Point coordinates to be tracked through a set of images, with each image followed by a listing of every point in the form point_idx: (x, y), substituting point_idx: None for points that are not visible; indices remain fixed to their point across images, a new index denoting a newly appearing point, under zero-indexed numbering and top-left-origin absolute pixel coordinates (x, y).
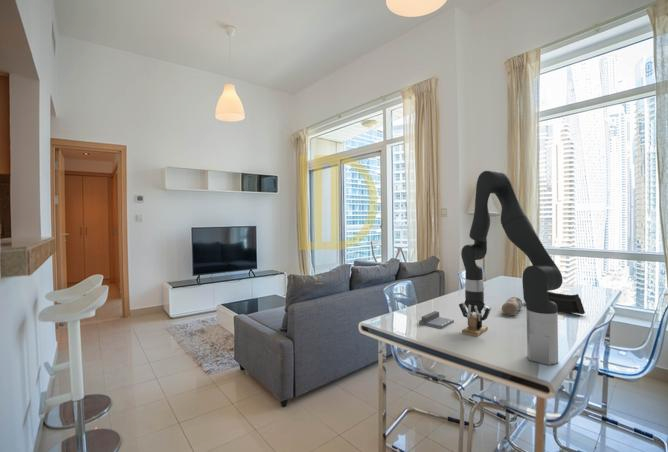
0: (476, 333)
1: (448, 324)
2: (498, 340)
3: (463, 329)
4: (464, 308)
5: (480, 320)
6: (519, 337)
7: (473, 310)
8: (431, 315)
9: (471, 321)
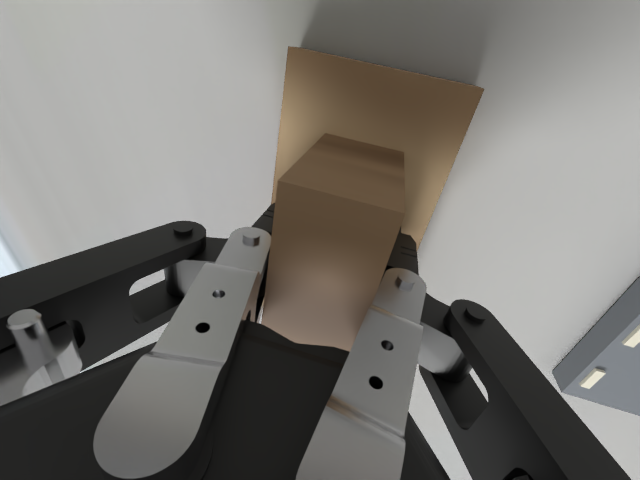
0: (297, 52)
1: (629, 298)
2: (115, 48)
3: (461, 133)
4: (498, 466)
5: (238, 235)
6: (60, 207)
7: (290, 366)
8: None
9: (350, 177)
